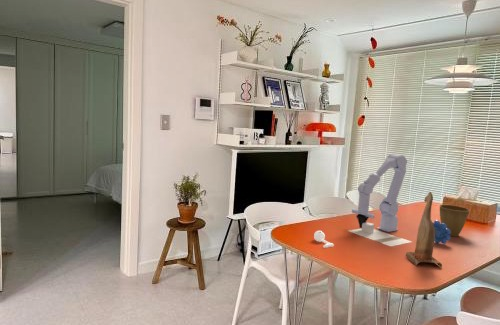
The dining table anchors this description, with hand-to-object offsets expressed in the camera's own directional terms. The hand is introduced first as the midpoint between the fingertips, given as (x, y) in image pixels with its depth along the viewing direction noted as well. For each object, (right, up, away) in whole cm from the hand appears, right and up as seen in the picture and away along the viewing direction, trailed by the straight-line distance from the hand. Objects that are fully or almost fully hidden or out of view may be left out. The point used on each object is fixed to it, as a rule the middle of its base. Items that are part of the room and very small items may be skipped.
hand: (361, 227), depth 201 cm
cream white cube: (+2, -2, -4) cm, 5 cm away
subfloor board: (+6, -3, -10) cm, 12 cm away
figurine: (-28, -3, -27) cm, 40 cm away
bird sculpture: (+13, -7, -46) cm, 48 cm away
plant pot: (+52, -5, +2) cm, 52 cm away
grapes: (+34, -5, -17) cm, 39 cm away
